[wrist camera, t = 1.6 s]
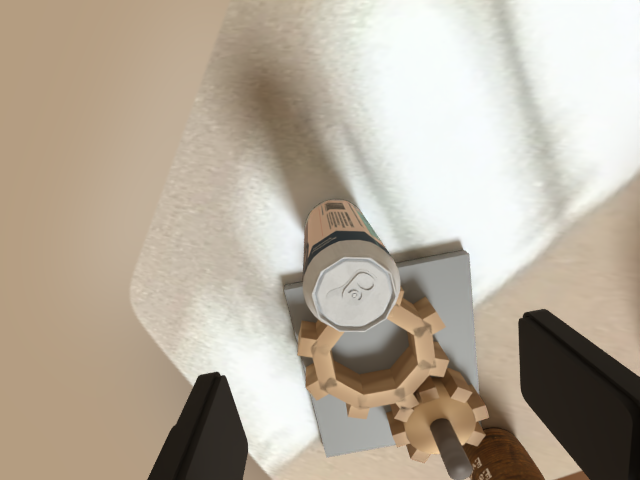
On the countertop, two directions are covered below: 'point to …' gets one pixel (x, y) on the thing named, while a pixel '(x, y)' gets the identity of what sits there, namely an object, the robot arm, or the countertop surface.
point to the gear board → (394, 346)
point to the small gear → (441, 422)
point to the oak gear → (385, 383)
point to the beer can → (347, 269)
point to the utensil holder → (501, 458)
